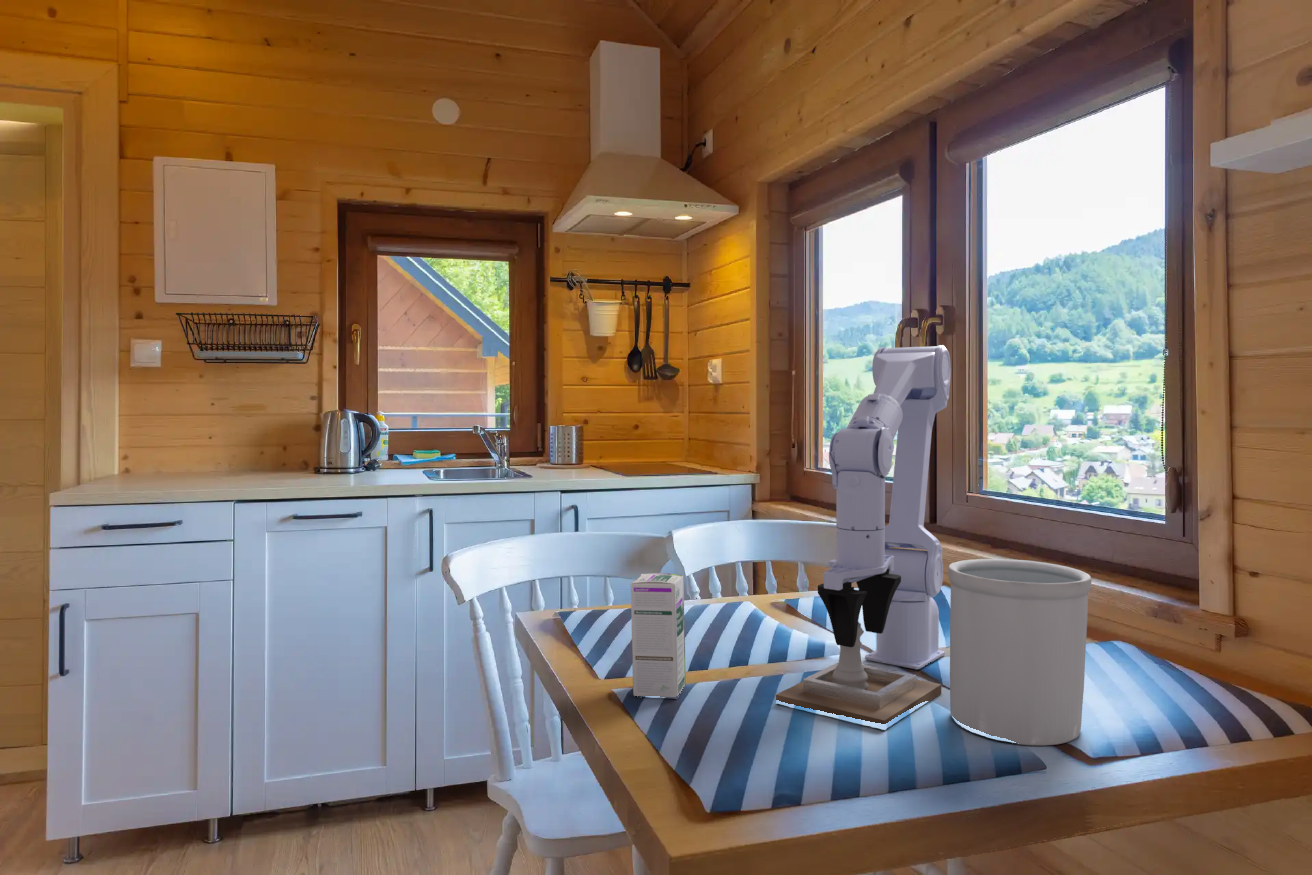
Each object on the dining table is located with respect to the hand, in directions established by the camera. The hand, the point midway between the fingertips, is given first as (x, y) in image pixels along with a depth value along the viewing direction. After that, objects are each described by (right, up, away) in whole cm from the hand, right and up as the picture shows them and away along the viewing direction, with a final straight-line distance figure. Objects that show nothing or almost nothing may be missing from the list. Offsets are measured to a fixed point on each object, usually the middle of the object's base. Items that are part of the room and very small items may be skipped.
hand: (860, 638), depth 110 cm
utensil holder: (+16, -8, -8) cm, 19 cm away
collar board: (0, -7, 0) cm, 7 cm away
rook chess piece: (-1, -6, +1) cm, 7 cm away
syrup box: (-24, -8, +4) cm, 26 cm away
